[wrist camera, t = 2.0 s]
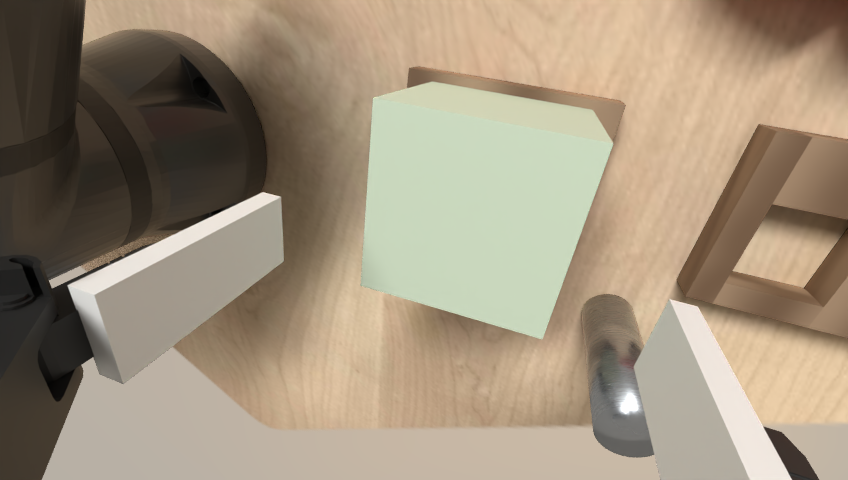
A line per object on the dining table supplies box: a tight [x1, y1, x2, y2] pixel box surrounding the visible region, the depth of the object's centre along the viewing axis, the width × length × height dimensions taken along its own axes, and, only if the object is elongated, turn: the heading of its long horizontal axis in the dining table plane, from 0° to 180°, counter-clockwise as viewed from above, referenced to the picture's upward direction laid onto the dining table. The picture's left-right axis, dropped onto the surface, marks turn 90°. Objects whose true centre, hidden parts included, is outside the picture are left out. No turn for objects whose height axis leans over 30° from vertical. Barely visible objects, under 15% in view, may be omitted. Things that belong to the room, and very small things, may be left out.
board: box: [407, 67, 626, 142], centre depth 23 cm, size 12×10×7 cm
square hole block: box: [677, 124, 848, 338], centre depth 21 cm, size 12×10×2 cm
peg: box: [581, 294, 654, 457], centre depth 24 cm, size 3×3×10 cm
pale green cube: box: [361, 81, 614, 339], centre depth 20 cm, size 9×9×9 cm
